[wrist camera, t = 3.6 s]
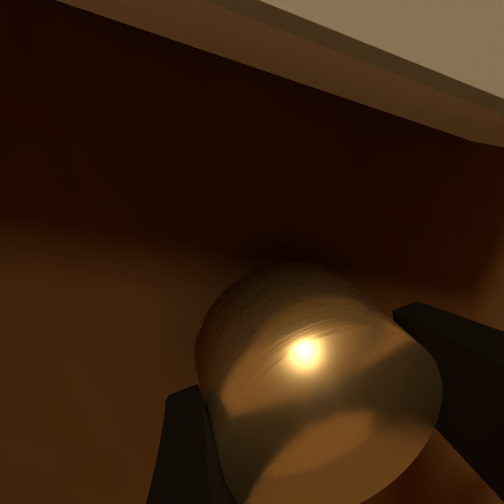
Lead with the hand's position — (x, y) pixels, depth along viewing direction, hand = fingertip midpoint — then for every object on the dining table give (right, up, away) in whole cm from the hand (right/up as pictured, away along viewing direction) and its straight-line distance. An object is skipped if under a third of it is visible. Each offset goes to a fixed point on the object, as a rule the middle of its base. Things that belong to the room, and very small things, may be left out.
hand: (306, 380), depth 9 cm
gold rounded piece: (0, +1, +1) cm, 2 cm away
